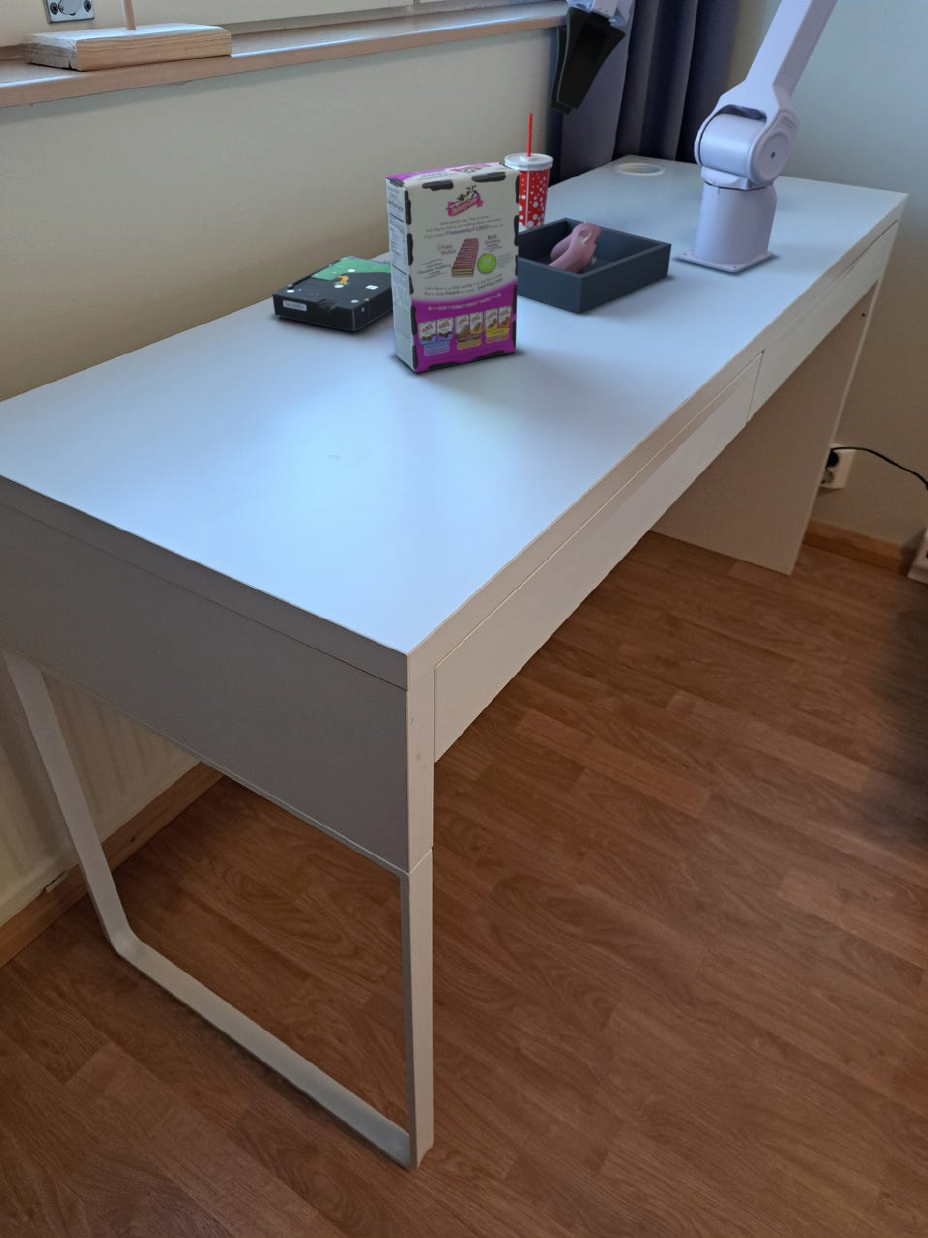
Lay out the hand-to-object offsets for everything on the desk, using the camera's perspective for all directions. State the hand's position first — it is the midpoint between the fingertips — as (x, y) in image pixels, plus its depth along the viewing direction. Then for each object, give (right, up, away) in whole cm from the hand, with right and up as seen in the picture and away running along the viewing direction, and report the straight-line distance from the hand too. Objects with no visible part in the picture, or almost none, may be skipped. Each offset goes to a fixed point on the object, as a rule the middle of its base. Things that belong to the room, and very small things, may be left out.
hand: (562, 108), depth 90 cm
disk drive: (-22, -16, +10) cm, 29 cm away
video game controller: (+3, -10, +17) cm, 20 cm away
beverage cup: (-1, +1, +32) cm, 32 cm away
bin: (+3, -10, +17) cm, 20 cm away
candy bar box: (-11, -24, 0) cm, 27 cm away
